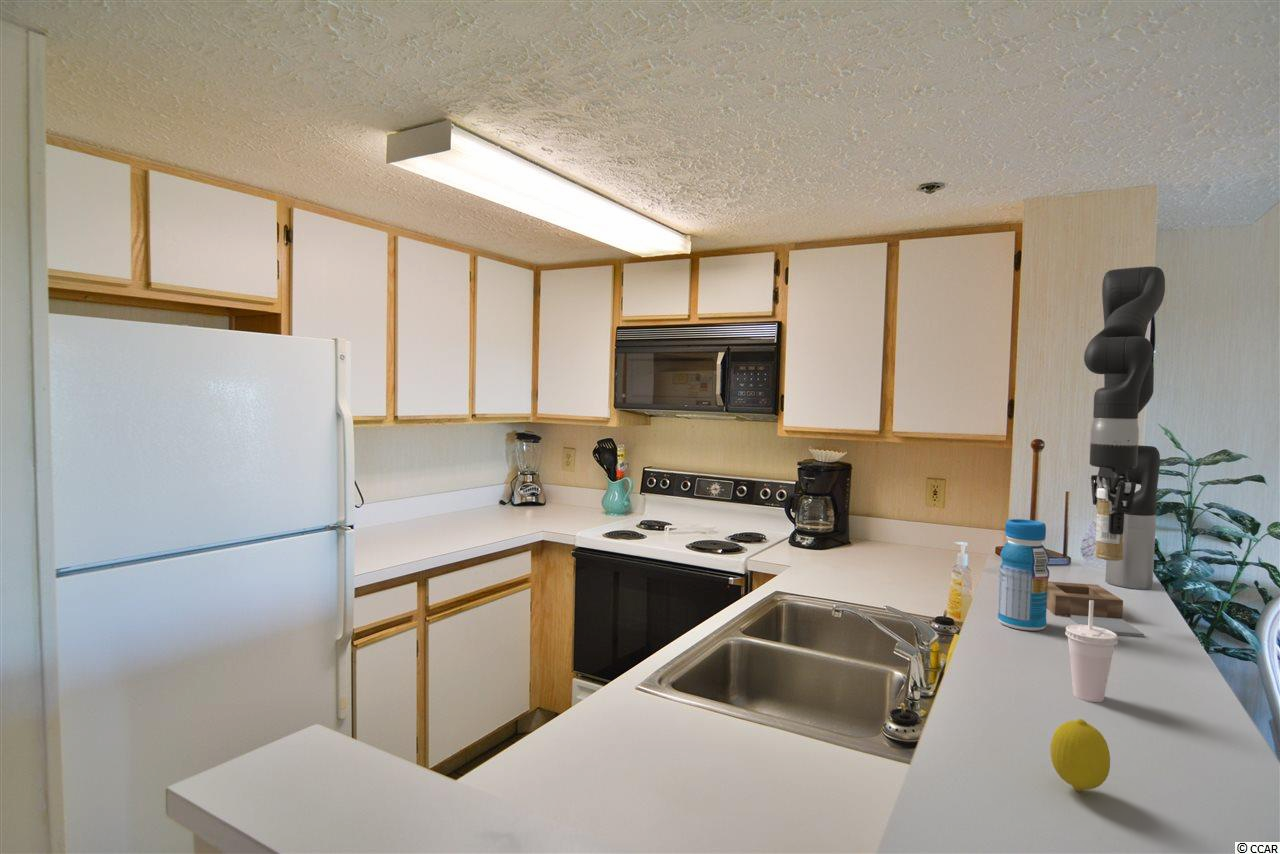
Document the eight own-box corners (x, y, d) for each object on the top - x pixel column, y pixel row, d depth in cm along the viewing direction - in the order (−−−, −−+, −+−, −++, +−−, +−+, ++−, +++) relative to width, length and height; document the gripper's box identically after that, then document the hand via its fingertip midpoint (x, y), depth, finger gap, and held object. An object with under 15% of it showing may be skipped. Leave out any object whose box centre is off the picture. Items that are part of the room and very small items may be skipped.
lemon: (1038, 778, 78) (1040, 708, 78) (1083, 776, 79) (1086, 707, 79) (1072, 806, 73) (1075, 732, 73) (1121, 804, 73) (1124, 731, 73)
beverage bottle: (999, 628, 131) (1003, 523, 130) (994, 615, 138) (998, 516, 138) (1050, 634, 127) (1055, 527, 127) (1043, 621, 135) (1047, 520, 134)
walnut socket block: (1035, 598, 151) (1036, 580, 151) (1097, 603, 148) (1097, 584, 148) (1054, 615, 139) (1055, 595, 139) (1122, 620, 137) (1123, 600, 136)
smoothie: (1107, 691, 103) (1111, 598, 102) (1121, 709, 97) (1126, 610, 96) (1057, 684, 105) (1061, 593, 104) (1068, 702, 99) (1073, 605, 98)
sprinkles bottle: (1127, 559, 131) (1130, 489, 131) (1116, 562, 129) (1119, 490, 128) (1100, 555, 135) (1103, 486, 135) (1089, 557, 133) (1092, 487, 132)
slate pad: (1070, 617, 138) (1070, 614, 138) (1121, 621, 136) (1121, 618, 136) (1088, 632, 129) (1088, 629, 129) (1143, 637, 127) (1143, 633, 127)
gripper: (1155, 445, 123) (1150, 540, 124) (1119, 440, 137) (1115, 526, 138) (1107, 443, 125) (1103, 537, 126) (1077, 439, 139) (1073, 524, 140)
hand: (1110, 531), depth 132 cm, fingers closed on sprinkles bottle, 4 cm apart
